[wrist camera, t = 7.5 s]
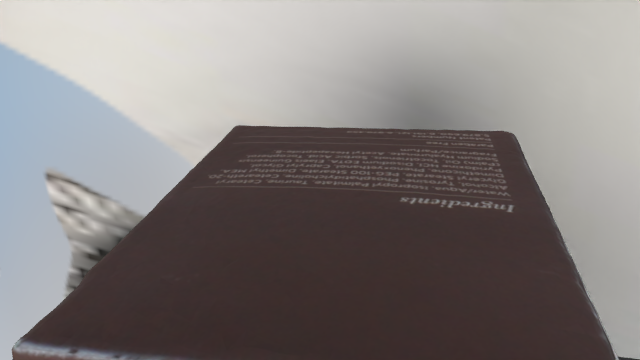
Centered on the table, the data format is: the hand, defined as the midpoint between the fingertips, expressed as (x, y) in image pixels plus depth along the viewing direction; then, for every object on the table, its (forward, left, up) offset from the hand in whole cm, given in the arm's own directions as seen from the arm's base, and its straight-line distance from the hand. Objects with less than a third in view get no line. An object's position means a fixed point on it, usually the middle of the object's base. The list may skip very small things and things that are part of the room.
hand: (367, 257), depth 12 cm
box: (0, 0, -1) cm, 1 cm away
